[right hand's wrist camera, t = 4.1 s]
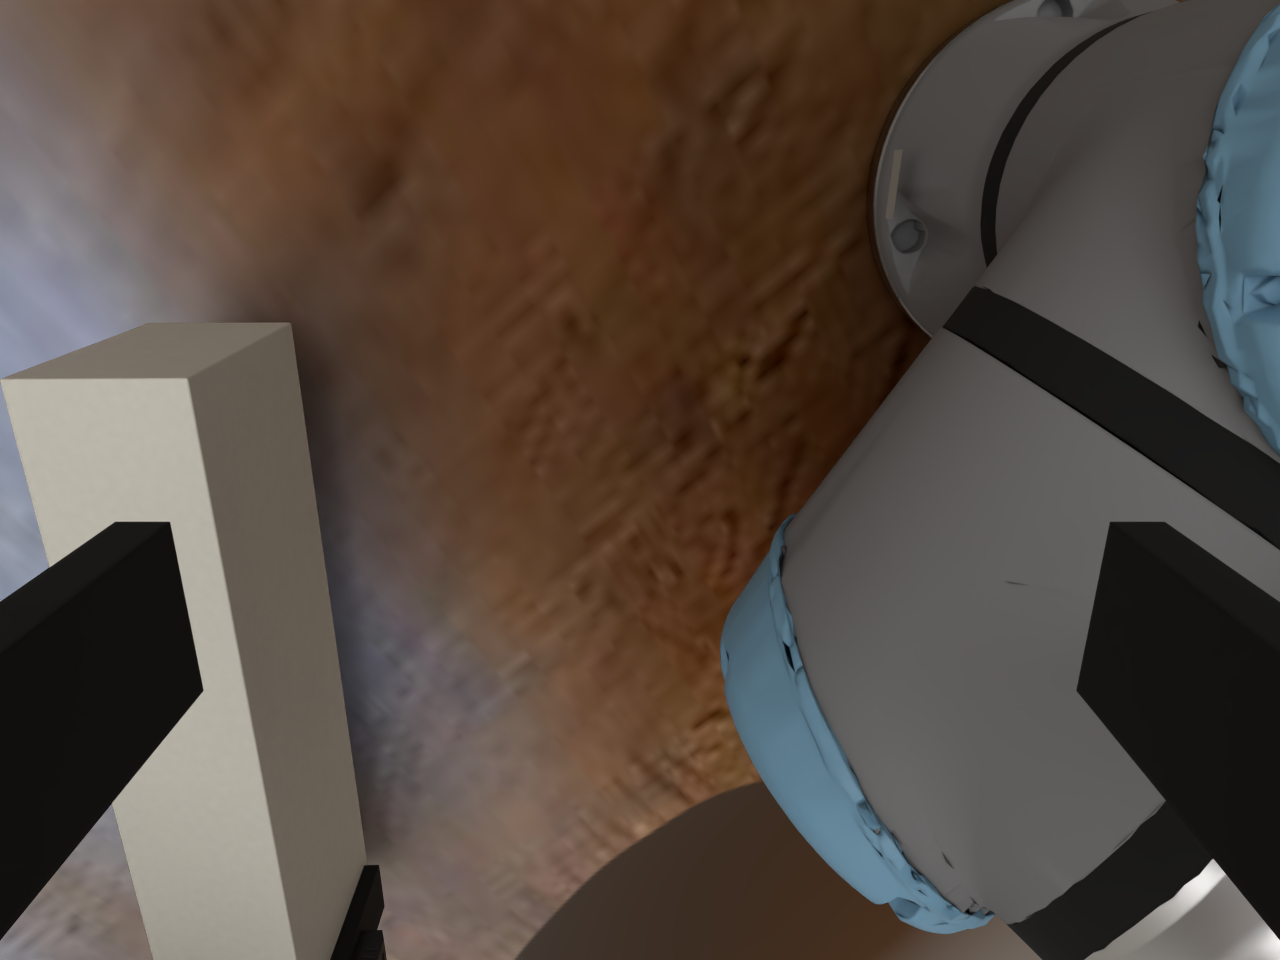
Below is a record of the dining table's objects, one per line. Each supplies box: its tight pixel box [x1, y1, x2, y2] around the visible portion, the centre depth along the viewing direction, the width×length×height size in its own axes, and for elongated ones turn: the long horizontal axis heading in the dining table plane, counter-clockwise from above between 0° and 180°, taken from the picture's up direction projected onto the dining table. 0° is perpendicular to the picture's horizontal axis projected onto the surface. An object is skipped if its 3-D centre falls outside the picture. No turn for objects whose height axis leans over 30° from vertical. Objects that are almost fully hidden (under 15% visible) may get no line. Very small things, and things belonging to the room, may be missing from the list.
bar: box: [0, 323, 367, 960], centre depth 37 cm, size 32×6×9 cm, turn 0°
